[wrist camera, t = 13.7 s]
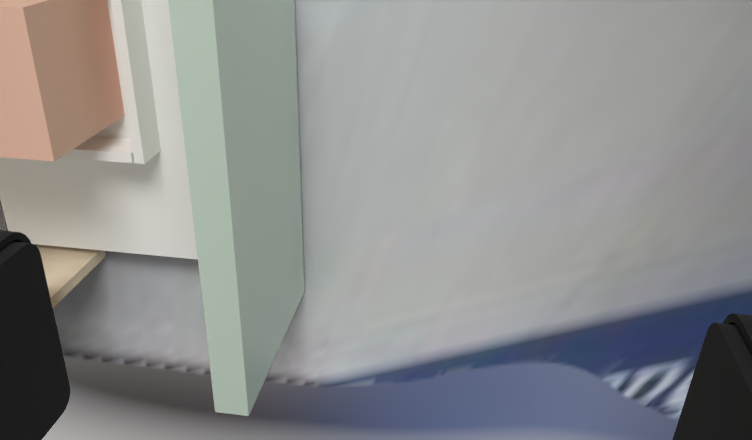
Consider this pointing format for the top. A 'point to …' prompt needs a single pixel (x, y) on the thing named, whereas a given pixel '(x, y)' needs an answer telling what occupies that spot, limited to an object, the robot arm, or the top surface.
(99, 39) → the block
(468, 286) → the top surface
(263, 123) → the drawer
